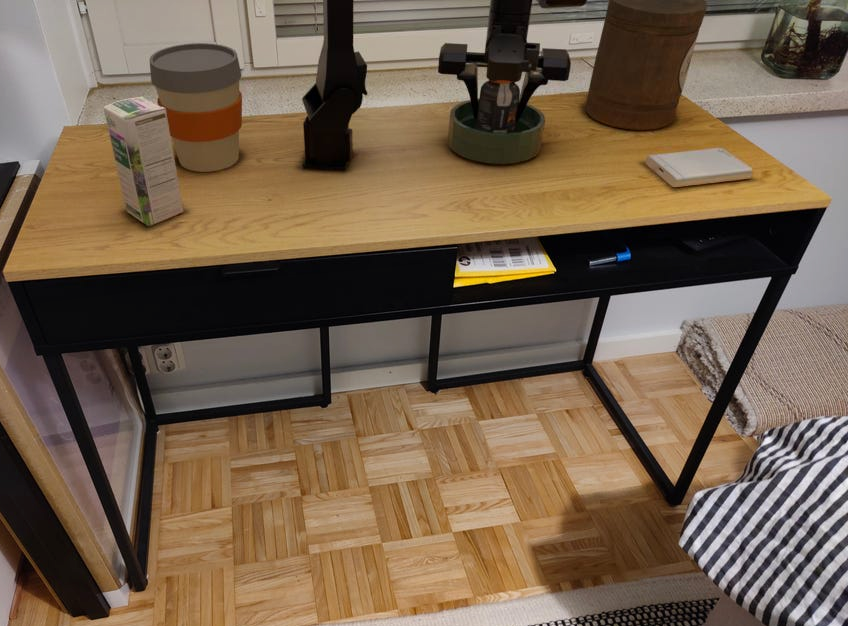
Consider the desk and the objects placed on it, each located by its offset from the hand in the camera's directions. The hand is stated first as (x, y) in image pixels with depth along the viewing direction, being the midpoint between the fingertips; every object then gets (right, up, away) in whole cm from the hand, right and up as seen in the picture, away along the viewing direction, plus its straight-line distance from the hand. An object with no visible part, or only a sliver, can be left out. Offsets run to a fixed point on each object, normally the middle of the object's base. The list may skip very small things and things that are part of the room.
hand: (496, 119), depth 109 cm
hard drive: (+29, -9, -3) cm, 31 cm away
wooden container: (+25, +5, +13) cm, 29 cm away
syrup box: (-48, -17, -13) cm, 53 cm away
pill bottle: (0, -3, +3) cm, 4 cm away
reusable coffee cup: (-44, -6, -1) cm, 45 cm away
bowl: (0, -3, +3) cm, 4 cm away
